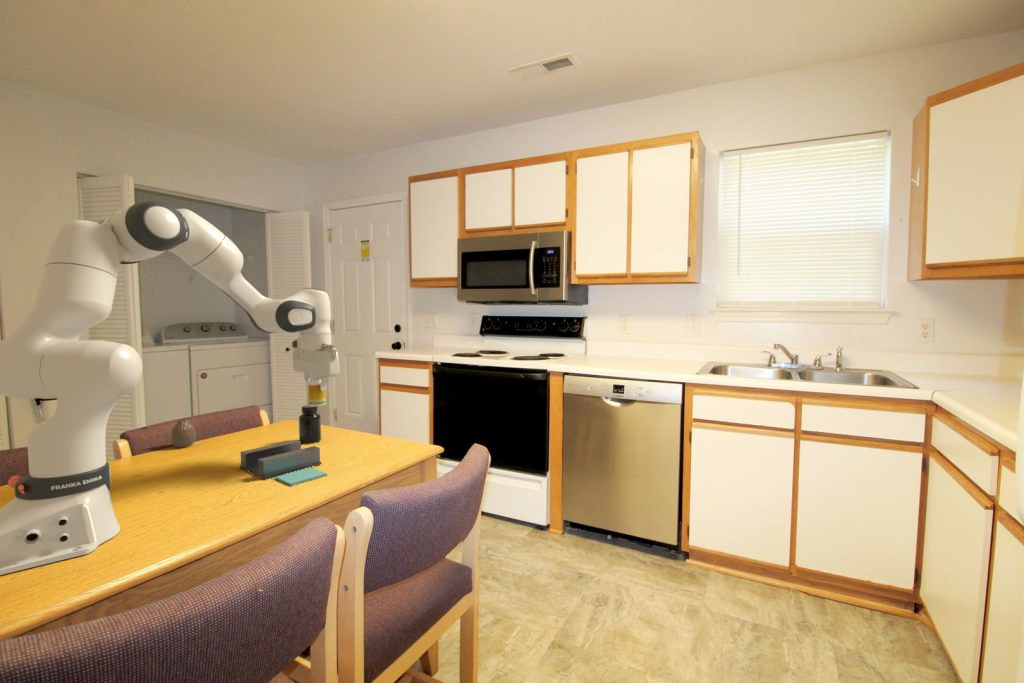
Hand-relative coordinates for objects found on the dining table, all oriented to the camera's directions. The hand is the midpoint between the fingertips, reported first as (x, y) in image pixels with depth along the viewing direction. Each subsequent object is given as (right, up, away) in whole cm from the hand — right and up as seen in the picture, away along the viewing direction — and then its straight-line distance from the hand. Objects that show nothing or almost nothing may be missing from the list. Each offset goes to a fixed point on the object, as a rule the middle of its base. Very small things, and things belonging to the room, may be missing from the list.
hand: (316, 389), depth 147 cm
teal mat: (+2, -22, -16) cm, 27 cm away
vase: (-48, -20, +12) cm, 53 cm away
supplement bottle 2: (-10, -20, +19) cm, 29 cm away
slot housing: (-7, -21, -7) cm, 24 cm away
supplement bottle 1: (0, -5, 0) cm, 5 cm away
